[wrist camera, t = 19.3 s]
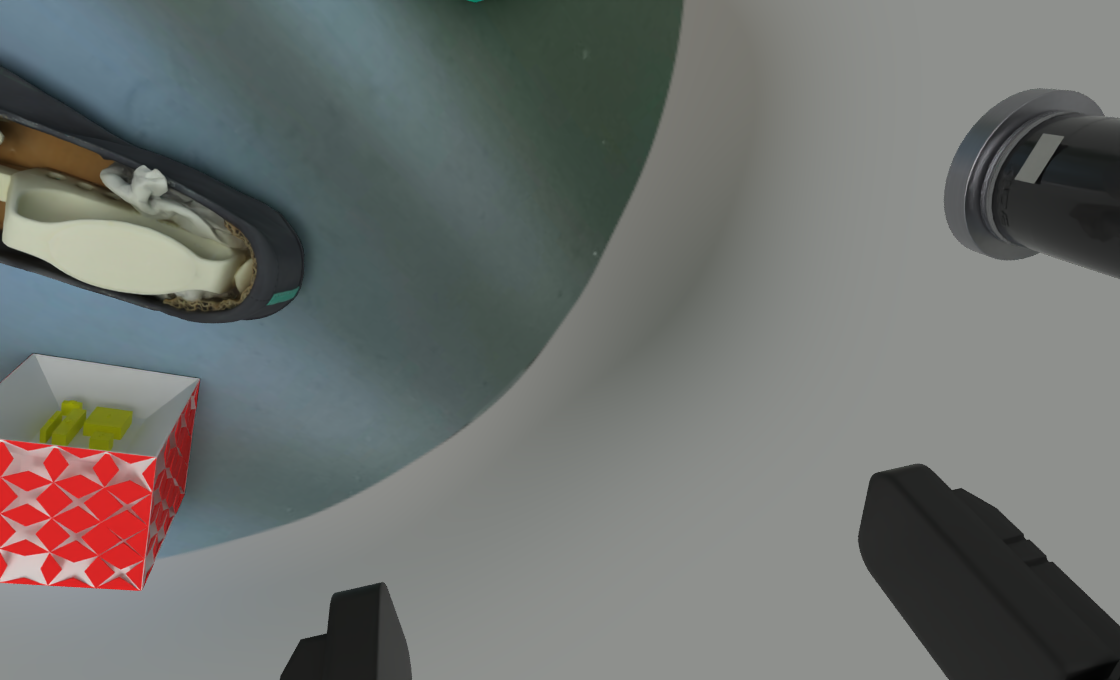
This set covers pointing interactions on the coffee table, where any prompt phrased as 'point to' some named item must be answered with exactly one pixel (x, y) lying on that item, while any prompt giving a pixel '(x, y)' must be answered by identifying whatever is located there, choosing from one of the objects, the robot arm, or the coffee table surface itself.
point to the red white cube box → (90, 470)
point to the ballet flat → (134, 219)
